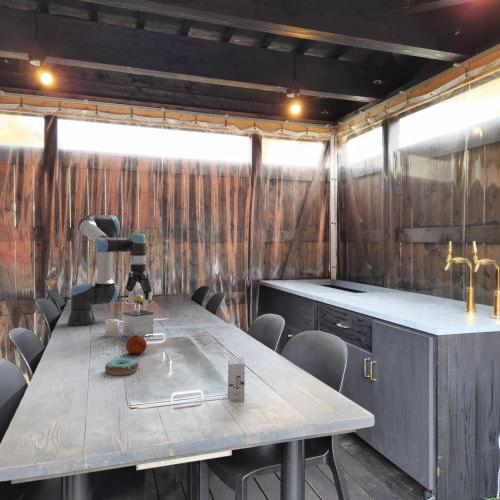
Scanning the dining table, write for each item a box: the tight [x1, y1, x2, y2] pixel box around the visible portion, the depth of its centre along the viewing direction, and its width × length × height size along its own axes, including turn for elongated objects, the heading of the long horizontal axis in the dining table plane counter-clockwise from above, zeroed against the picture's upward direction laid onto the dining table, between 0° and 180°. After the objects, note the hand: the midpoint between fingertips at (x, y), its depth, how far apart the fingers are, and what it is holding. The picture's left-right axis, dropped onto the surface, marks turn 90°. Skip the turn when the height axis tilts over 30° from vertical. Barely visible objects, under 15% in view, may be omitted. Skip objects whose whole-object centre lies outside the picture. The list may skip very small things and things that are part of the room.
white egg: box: [104, 318, 120, 338], centre depth 222 cm, size 7×7×8 cm
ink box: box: [227, 356, 246, 403], centre depth 134 cm, size 9×5×12 cm, turn 5°
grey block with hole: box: [122, 309, 154, 338], centre depth 222 cm, size 11×11×12 cm
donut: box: [104, 357, 139, 376], centre depth 160 cm, size 12×12×4 cm
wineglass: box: [135, 287, 154, 311], centre depth 241 cm, size 9×10×22 cm
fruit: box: [125, 335, 147, 355], centre depth 185 cm, size 9×9×8 cm
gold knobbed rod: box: [134, 294, 143, 313], centre depth 222 cm, size 7×7×19 cm
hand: (138, 304), depth 222 cm, fingers open, 13 cm apart
